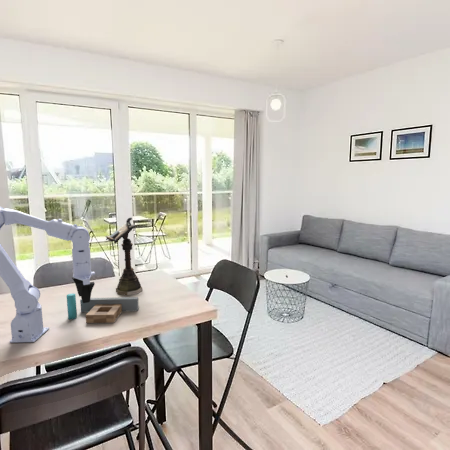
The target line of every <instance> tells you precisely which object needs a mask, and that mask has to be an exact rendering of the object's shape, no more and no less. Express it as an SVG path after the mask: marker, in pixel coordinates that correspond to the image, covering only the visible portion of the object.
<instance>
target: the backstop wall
mask: <svg viewBox="0 0 450 450" xmlns="http://www.w3.org/2000/svg"><path fill="white" fill-rule="evenodd" d="M79 302H80V312H81V313H88V312H89V311H90V310H91V309H92V308H93V307H94V306H95V305H96V304H122V312H138V311H139V297H138V296H132V297H131V296H129V297H127V296H126V297H123V296H121V297H120V296H119V297H116V296H115V297H90V302H88V303H83V302H82V298H81V299H80V300H79Z"/></svg>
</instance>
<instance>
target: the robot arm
mask: <svg viewBox="0 0 450 450" xmlns="http://www.w3.org/2000/svg"><path fill="white" fill-rule="evenodd" d="M15 224H20V225H24V226H27V227H31V228H35V229H39V230H43V231H44V232H45V233H46V235H48V236H49V237H53V238H56V239H60V240H63V241H67V242H68V241H71V242H72V249H71V253H72V254H71V255H72V256H71V257H72V271H73V273H72V277H71V279H72V280H73V282H74V284H75V287H76V291H77V295H78V297H79V298H81V299H82V302H83V303H88V302H90V298H92V297H91V296H92V292H93V288H94V287H95V285H96V284H95V281H91V278H92V276H94V275H96V272H95V271H92V259H91V258H92V257H91V248H90V240H91V236H90V232H89V230H88V229H87V228H86V227H84V226H82V225H78V224H76V223H74V224H72V223H68V222H65V221H63V219H62V218H57V219H55V218H54V219H53V218H52V219H51V220H47V219H43V218H40V217H38V216H35V215H31V214H30V213H29V214H28V213H26V212H22V211H20V210H17V209H12V208H8V207H5V208H4V207H3V206H0V230H1V229H2V228H3V226H4V225H5V226H7V225H8V226H9V225H15ZM0 278H1V279H2V280H3V282H4V283H5V285H6V286H7V287H8V288H9V290H10V291H9V292H10V295H11V298H12V299H13V301H14V307H15V309H16V310H15V315H14V318H12V320H11V321H10V333H11V339H10V340H9V343H34V342H36V341H37V340H38V339H39V338H41V337H42V336H43V335H44V334H46V332H48V331H49V330H50V327H44V321H43V310H42V309H43V308H42V305H41V303H40V302H39V299H40V297H41V291H40V289H39V288H38V287H36V286H34V285H33V284H32V283H31V282H30V281H29V280H28V279H26V278H25V277H24V274H23V273H22V272H21V271H20V270H19V268H18V267H17V265H16V264H15V263H14V261H13V260H12V258H11V257H10V255H9V254H8V252H7V251H6V250H5V248H4V247H3V245H2V244H1V243H0Z"/></svg>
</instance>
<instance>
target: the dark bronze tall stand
mask: <svg viewBox="0 0 450 450" xmlns="http://www.w3.org/2000/svg"><path fill="white" fill-rule="evenodd" d="M132 220H133V217H128V218H127V219H126V221H125V223H123V225H122V226H120V228H118V229H117V230H116V231H114V232H113V233H112V234H111V235H109V236H108V235H106V236H105V238H106V239H105V241H109V242H113V243H114V244H117V243H118V242H119V241H120V240H121V239H123V240H122V243H121V247H122V251H123V252H124V264H125V267H124V268H123V269H122V270H123V272H122V274H121V276H119V279H118V284H117V286H116V288H115V292H116V294H117V295H119V296H131V295H137V294H139V293H141V292H142V291H143V286H142V285H141V282H140V280H139V277H138V276H137V274H136V273H135V269H134V268H133V267H132V264H131V263H132V262H131V261H132V258H131V257H132V256H131V251H132V250H133V246H134V244H133V243H132V240H131V239H130V238H128V237H129V233H131V231H132V230H133V229H134V228H135V227H136V225H135V224H131V221H132Z"/></svg>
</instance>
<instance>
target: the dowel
mask: <svg viewBox="0 0 450 450" xmlns="http://www.w3.org/2000/svg"><path fill="white" fill-rule="evenodd" d="M76 296H77V295H76V293H68V294H66V305H67V306H66V307H67V308H66V309H67V318H68V320H69V321H70V320H75V319H77V318H78V314H77V313H78V311H77V299H76Z"/></svg>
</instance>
